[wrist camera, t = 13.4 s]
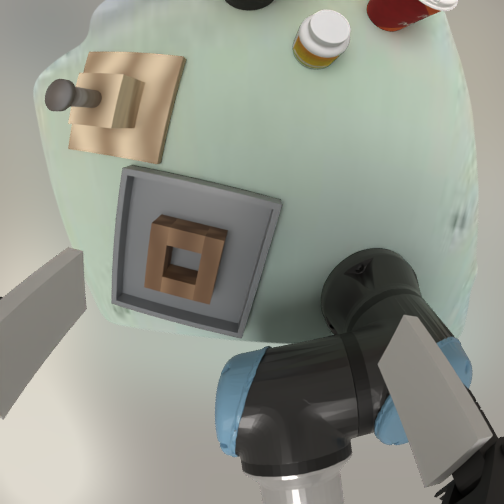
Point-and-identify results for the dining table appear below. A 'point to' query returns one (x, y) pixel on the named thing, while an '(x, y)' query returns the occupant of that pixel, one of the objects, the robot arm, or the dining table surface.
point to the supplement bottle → (321, 39)
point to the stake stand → (120, 103)
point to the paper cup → (404, 11)
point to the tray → (200, 211)
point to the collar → (188, 238)
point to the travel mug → (249, 4)
